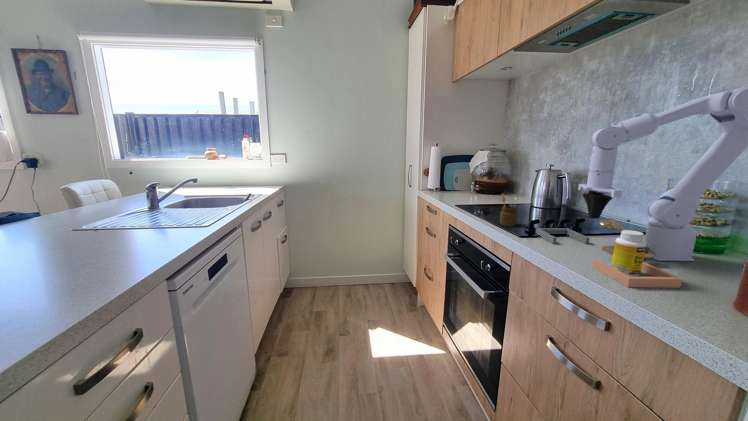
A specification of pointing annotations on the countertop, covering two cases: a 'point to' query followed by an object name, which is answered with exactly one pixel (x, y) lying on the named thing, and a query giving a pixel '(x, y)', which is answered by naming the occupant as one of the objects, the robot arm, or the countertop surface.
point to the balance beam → (615, 226)
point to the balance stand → (611, 250)
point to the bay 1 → (547, 231)
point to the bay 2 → (657, 279)
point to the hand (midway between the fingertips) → (593, 218)
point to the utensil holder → (508, 214)
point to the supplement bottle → (629, 253)
